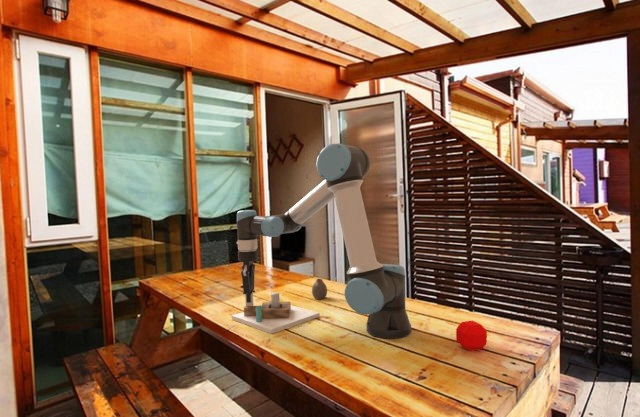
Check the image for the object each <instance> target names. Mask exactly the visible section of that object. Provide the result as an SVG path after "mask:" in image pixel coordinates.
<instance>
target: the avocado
mask: <svg viewBox="0 0 640 417" xmlns="http://www.w3.org/2000/svg"><path fill="white" fill-rule="evenodd" d="M311 294H312V296H313V298H314V299H315V300H324V299H325V298H326V297H327V295H328V287H327V285H326V284H325V282H324V281H323V279H322V278H316V280H315V281H314V284H313V285H312V288H311Z"/></svg>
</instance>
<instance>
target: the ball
mask: <svg viewBox="0 0 640 417" xmlns="http://www.w3.org/2000/svg"><path fill="white" fill-rule="evenodd" d="M455 338H456V339H455V341H456V342H457V343H458V344H459V345H460V346H461V347H462V346H463V348H465V349H466V350H468V351H469V350H470V351H469V352H473V351H472V350H474V351H478V350H477V349H480V350H482V349H483V348H484V347H486V346H487V341H488V340H487V338H488V331H487V329H486V328H485V326H483V325H482V324H481V323H480V322H476V321H475V320H465V321H461V322H460V323H459V324H458V326H457V327H456V330H455Z"/></svg>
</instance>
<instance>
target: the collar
mask: <svg viewBox="0 0 640 417" xmlns="http://www.w3.org/2000/svg"><path fill="white" fill-rule="evenodd" d="M291 305H292V304H291V301H280V308H271V301H267V302H266V301H264V302H262V303H261V305H260V306H261V311H262V319H266V318H289V316H290V310H291ZM256 306H257V305H253V306H246V305H244V307H243V312H244V316H248V315H256Z"/></svg>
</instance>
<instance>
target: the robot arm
mask: <svg viewBox="0 0 640 417" xmlns="http://www.w3.org/2000/svg"><path fill="white" fill-rule="evenodd" d="M370 169H371V159H370V155H369V154H368V152H367V151H366V150H364V149H363V148H362V147H359V146H354V145H349V144H348V145H347V144H345V143H339V142H338V143H330V144H328V145H326V146H324V147H323V148H322V149H321V150H320V152H319V153H318V156H317V158H316V170H317V173H318V174H319V176H320V177H321V178H322V179H323V180H322V181H321V182H320V183H319V184H318V185H316V186H315V187H314V188H312V190H311V191H310V192H308V193H307V194H306V195H305V196H304V197H303V198H301V199H300V200H299V201H297V202H296V204H294V205H293V206H292V207H291V208H289V210H287V211H286V212H285V213H283V214H275V215H257V211H256V210H255V209H245V210H243V209H242V210H239V211H237V213H236V230H237V231H236V234H237V241H236V245H237V249H238V251H237V260H238V261H239V262H242V266H241V271H240V274H241V281H242V291H243V293H242V294H243V295H244V296H245V298H244V299H245V306H254V293H256V290H255V274H256V272H255V270H256V264H254V262H255V261H257V260H258V259H259V254H258V253H259V252H258V250H257V249H258V246H259V245H258V236H261V237H268V238H272V237H273V238H276V237H279V236H280V235H283V234H291V233H295V232H298V231H299V230H301V228H302V226H303V224H304V223H305V222H307V221H308V220H309V219H310V218H312V216H314V215H315V214H316V213H317V212H319V211H320V210H321V209H323V208H324V207H325V206H326V205H327V204H329V203H330V202H331V201H333V200H334V201H335V204H336V205H335V206H336V209H337V214H338V218H339V222H340V227H341V231H342V235H343V241H344V245H345V248H346V249H345V250H346V254H347V258H348V263H349V268H348V270H347V271H346V276H347V281H348V282H347V284H346V286H345V288H344V298H345V302H346V303H347V304H348V306H349V308H351V309H352V310H353V311H354V312H356V313H358V314H360V315H368V318H367V320H366V327H365V328H366V330H365V331H366V332H367V333H368V334H369V335H371V336H373V337H377V338H382V339H400V338H405V337H407V336H409V335H410V334H411V333H412V324H411V322H410V318H409V316H408V312H407V310H406V270H405V268H404V266H403V265H399V264H391V263H389V264H388V263H380V262H379V261H377V260H378V259H377V257H376V251H375V248H374V244H373V243H374V242H373V240H372V236H371V235H372V234H371V231H370V226H369V221H368V217H367V213H366V209H365V205H364V203H365V202H364V200H363V195H362V190H361V185H362V184H363V183H364V179H365V177H366V176H367V175H368V173H369V172H370Z"/></svg>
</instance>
